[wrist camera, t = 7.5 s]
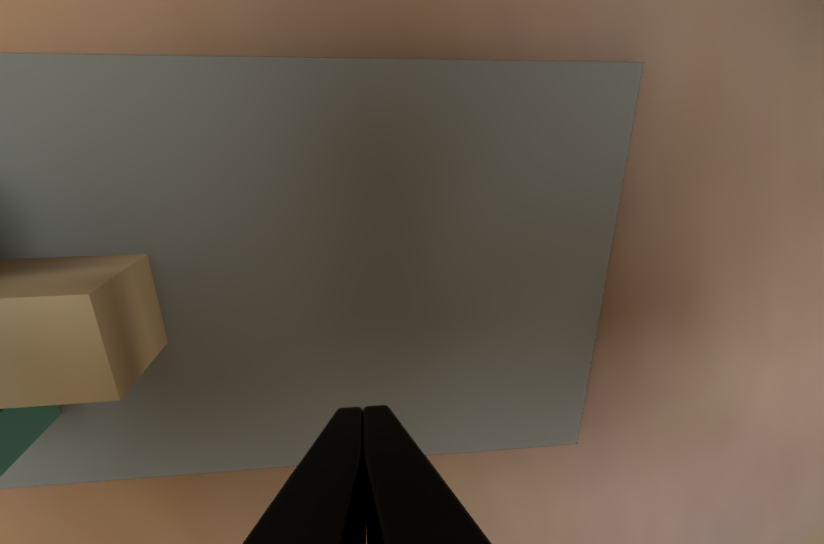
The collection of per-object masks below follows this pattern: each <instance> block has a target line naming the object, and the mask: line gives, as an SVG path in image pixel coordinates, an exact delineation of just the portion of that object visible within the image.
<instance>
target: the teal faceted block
mask: <svg viewBox="0 0 824 544" xmlns="http://www.w3.org/2000/svg"><path fill="white" fill-rule="evenodd" d="M60 415H61V412H60V409H59V406H58V405H49V406H34V407H20V408H5V409H0V477H1V476H2V475H3V474H4V473H5V472H6V470H7V469H8V468H9V467H10V466H11V465H12V464H13V463H14V462H15V461H16V460H17V459H18V458H19V457H20V456H21V455H22V454H23V453H24V452H25V451H26V450H27V449H28V448H29V447H30V446H31V445H32V444H33V443H34V442H35V441H36V440H37V439H38V438H39V436H40V435H41V434H42V433H43V432H44V431H45V430H46V429H47V428H48V427H49V426H50V425H51V424H52V423H53V422H54V421H55V420H56V419H57V418H58V417H59V416H60Z"/></svg>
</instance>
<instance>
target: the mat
mask: <svg viewBox="0 0 824 544" xmlns="http://www.w3.org/2000/svg"><path fill="white" fill-rule="evenodd" d="M643 66H644V62H587V61H517V60H448V59H379V58H309V57H240V56H170V55H101V54H32V53H0V259H21V258H47V257H73V256H100V255H126V254H147V255H148V259H149V263H150V268H151V272H152V276H153V280H154V285H155V289H156V293H157V297H158V302H159V306H160V310H161V314H162V319H163V323H164V327H165V331H166V336H167V340H168V343H167V344H166V345H165V346H164V348H163V349H162V350H161V351H160V352H159V354H158V355H157V356H156V357H155V359H154V360H153V361H152V362H151V364H150V365H149V366H148V367H147V368H146V370H145V371H144V372H143V373H142V375H141V376H140V377H139V378H138V379H137V381H136V382H135V383H134V384H133V386H132V387H131V388H130V389H129V390H128V392H127V393H126V394H125V395H124V397H123V398H122V399H121V400H120V401H107V402H92V403H78V404H63V405H58V406H59V409H60V412H61V415H60V416H59V417H58V418H57V419H56V420H55V421H54V422H53V423H52V424H51V425H50V426H49V427H48V428H47V429H46V430H45V431H44V432H43V433H42V434H41V435H40V436H39V438H38V439H37V440H36V441H35V442H34V443H33V444H32V445H31V446H30V447H29V448H28V449H27V450H26V451H25V452H24V453H23V454H22V455H21V456H20V457H19V458H18V459H17V460H16V461H15V462H14V463H13V464H12V465H11V466H10V467H9V468H8V469H7V470H6V472H5V473H4V474H3V475H2V476H1V477H0V489H9V488H22V487H34V486H47V485H60V484H73V483H85V482H98V481H111V480H124V479H136V478H149V477H162V476H174V475H187V474H200V473H213V472H225V471H238V470H251V469H264V468H276V467H289V466H298V464H299V463H300V462H301V460H302V459H303V457H304V456H305V454H306V453H307V452H308V450H309V449H310V447H311V446H312V445H313V443H314V442H315V440H316V439H317V437H318V436H319V435H320V433H321V432H322V430H323V429H324V428H325V426H326V425H327V423H328V422H329V420H330V419H331V418H332V416H333V415H334V413H335V412H336V411H337V409H339V408H344V407H361V408H362V409H364V407H366V406H374V405H387V406H388V407H389V408H390V409H391V410H392V412H393V413H394V414H395V416H396V417H397V418H398V420H399V421H400V422H401V424H402V425H403V426H404V428H405V429H406V430H407V432H408V433H409V434H410V436H411V437H412V438H413V440H414V441H415V442H416V444H417V445H418V446H419V448H420V449H421V450H422V452H423V453H424V454H425V456H429V455H442V454H455V453H467V452H480V451H493V450H506V449H518V448H531V447H544V446H557V445H569V444H578V438H579V432H580V427H581V421H582V415H583V409H584V404H585V398H586V392H587V386H588V381H589V375H590V369H591V364H592V358H593V352H594V346H595V341H596V335H597V329H598V324H599V318H600V312H601V306H602V301H603V295H604V289H605V284H606V278H607V272H608V266H609V261H610V255H611V249H612V243H613V238H614V232H615V226H616V221H617V215H618V209H619V203H620V198H621V192H622V186H623V181H624V175H625V169H626V163H627V158H628V152H629V146H630V141H631V135H632V129H633V123H634V118H635V112H636V106H637V100H638V95H639V89H640V83H641V78H642V72H643Z"/></svg>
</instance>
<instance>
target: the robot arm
mask: <svg viewBox="0 0 824 544" xmlns="http://www.w3.org/2000/svg"><path fill="white" fill-rule="evenodd" d="M366 530H367V544H491V542H490V541H489V540H488V538H487V537H486V536H485V534H484V533H483V532H482V530H481V529H480V528H479V526H478V525H477V524H476V522H475V521H474V520H473V518H472V517H471V516H470V514H469V513H468V512H467V510H466V509H465V508H464V506H463V505H462V504H461V502H460V501H459V500H458V498H457V497H456V496H455V494H454V493H453V492H452V490H451V489H450V488H449V486H448V485H447V484H446V482H445V481H444V480H443V478H442V477H441V476H440V474H439V473H438V472H437V470H436V469H435V468H434V466H433V465H432V464H431V462H430V461H429V460H428V458H427V457H426V456H425V454H424V453H423V452H422V450H421V449H420V448H419V446H418V445H417V444H416V442H415V441H414V440H413V438H412V437H411V436H410V434H409V433H408V432H407V430H406V429H405V428H404V426H403V425H402V424H401V422H400V421H399V420H398V418H397V417H396V416H395V414H394V413H393V412H392V410H391V409H390V408H389V407H388V406H387V405H374V406H366V407H364V409H362V408H361V407H344V408H339V409H337V411H336V412H335V413H334V415H333V416H332V418H331V419H330V420H329V422H328V423H327V425H326V426H325V428H324V429H323V430H322V432H321V433H320V435H319V436H318V437H317V439H316V440H315V442H314V443H313V445H312V446H311V447H310V449H309V450H308V452H307V453H306V454H305V456H304V457H303V459H302V460H301V462H300V463H299V464H298V466H297V467H296V469H295V470H294V472H293V473H292V474H291V476H290V477H289V479H288V480H287V481H286V483H285V484H284V486H283V487H282V489H281V490H280V491H279V493H278V494H277V496H276V497H275V498H274V500H273V501H272V503H271V504H270V506H269V507H268V508H267V510H266V511H265V513H264V514H263V516H262V517H261V518H260V520H259V521H258V523H257V524H256V525H255V527H254V528H253V530H252V531H251V533H250V534H249V535H248V537H247V538H246V540H245V541H244V542H243V544H366Z"/></svg>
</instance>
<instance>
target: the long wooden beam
mask: <svg viewBox="0 0 824 544" xmlns="http://www.w3.org/2000/svg"><path fill="white" fill-rule="evenodd" d="M167 343H168V340H167V336H166V331H165V327H164V323H163V319H162V314H161V310H160V306H159V302H158V297H157V293H156V289H155V285H154V280H153V276H152V272H151V268H150V263H149V259H148V255H147V254H126V255H100V256H73V257H47V258H21V259H0V409H5V408H20V407H34V406H49V405H63V404H78V403H92V402H107V401H120V400H121V399H122V398H123V397H124V395H125V394H126V393H127V392H128V390H129V389H130V388H131V387H132V386H133V384H134V383H135V382H136V381H137V379H138V378H139V377H140V376H141V375H142V373H143V372H144V371H145V370H146V368H147V367H148V366H149V365H150V364H151V362H152V361H153V360H154V359H155V357H156V356H157V355H158V354H159V352H160V351H161V350H162V349H163V348H164V346H165V345H166V344H167Z"/></svg>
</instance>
